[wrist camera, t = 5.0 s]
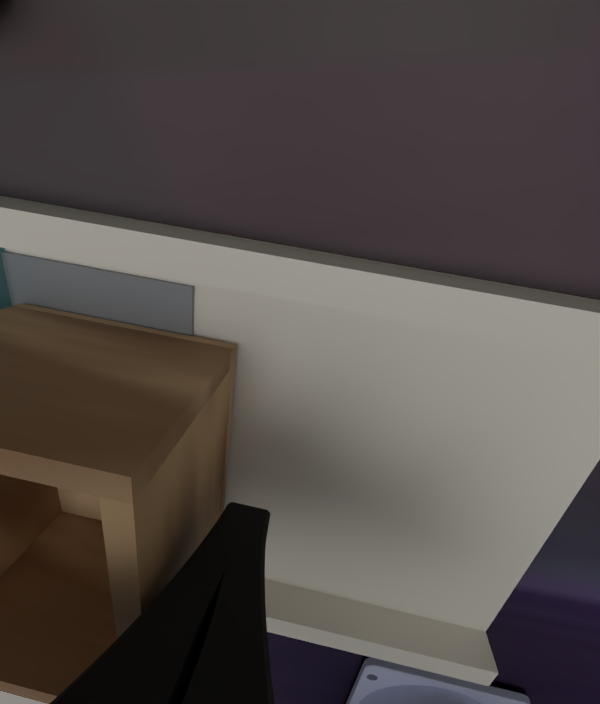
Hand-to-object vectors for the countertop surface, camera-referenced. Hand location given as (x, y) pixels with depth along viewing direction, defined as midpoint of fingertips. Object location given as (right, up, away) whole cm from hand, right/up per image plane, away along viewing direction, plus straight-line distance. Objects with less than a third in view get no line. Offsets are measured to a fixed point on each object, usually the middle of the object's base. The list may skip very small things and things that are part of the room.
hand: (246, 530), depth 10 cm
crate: (-5, +2, +3) cm, 6 cm away
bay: (+1, +1, +3) cm, 3 cm away
